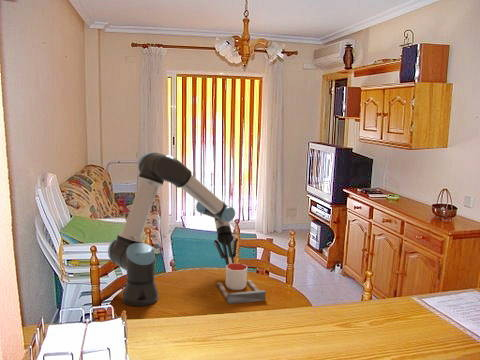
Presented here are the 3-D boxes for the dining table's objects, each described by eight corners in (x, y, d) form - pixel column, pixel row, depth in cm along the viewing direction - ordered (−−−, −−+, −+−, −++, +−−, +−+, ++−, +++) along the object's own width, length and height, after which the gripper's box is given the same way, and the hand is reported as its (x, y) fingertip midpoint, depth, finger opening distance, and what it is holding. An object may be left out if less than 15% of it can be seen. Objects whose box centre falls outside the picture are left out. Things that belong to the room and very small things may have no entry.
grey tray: (217, 285, 197) (217, 277, 197) (250, 282, 202) (251, 274, 202) (228, 304, 178) (228, 295, 178) (265, 300, 183) (265, 291, 183)
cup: (227, 281, 202) (228, 262, 201) (247, 283, 201) (248, 264, 200) (223, 290, 193) (224, 269, 191) (244, 292, 191) (245, 271, 190)
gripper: (212, 225, 213) (219, 268, 200) (236, 224, 217) (245, 266, 204) (210, 232, 219) (216, 274, 206) (233, 231, 223) (241, 272, 210)
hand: (231, 270), depth 205 cm, fingers closed
